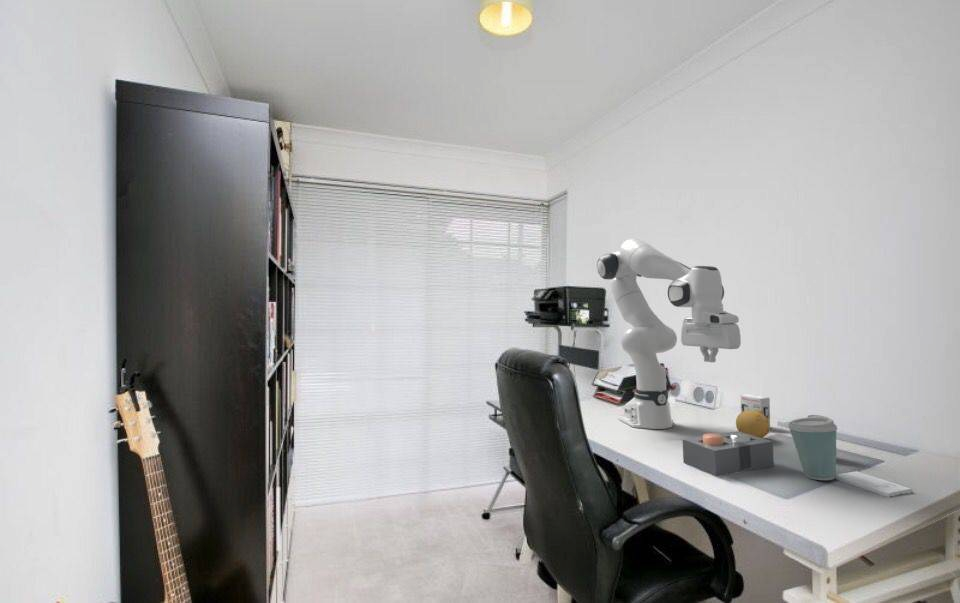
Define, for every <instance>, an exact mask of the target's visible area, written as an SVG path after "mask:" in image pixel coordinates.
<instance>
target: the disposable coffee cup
mask: <svg viewBox="0 0 960 603" xmlns="http://www.w3.org/2000/svg"><path fill="white" fill-rule="evenodd" d="M787 428H788V429H789V431H790V433H791V434H790V435H791V437H792V440H793V443H794V446H795V449H796V452H797V455H798V458H799V459H798V460H799V461H800V464H801V467H802V470H803V473H804V474H805V477H806V478H808V479H812V480H816V481H817V480H818V481H832V480H833V481H834V480H835V475H837V430H838V426H837V425H836V424H835V423H834V420H833V419H831V418H829V417H828V418H824V417H809V418H807V417H802V418H796V419H793V420H791V421H790V422H788V427H787Z"/></svg>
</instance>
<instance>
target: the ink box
mask: <svg viewBox="0 0 960 603" xmlns="http://www.w3.org/2000/svg"><path fill="white" fill-rule="evenodd" d="M770 405H771V400H770V397H767V396H763V395H758V394H752V393H745V394H740V413H742V412H743V411H746V410H755V411H759V412H761V413H762V414H763V415H764V416H765V417H766V418H767V419H768V422H769V430H770V429H771V410H770V409H771V406H770Z"/></svg>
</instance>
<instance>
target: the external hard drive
mask: <svg viewBox="0 0 960 603" xmlns="http://www.w3.org/2000/svg"><path fill="white" fill-rule="evenodd" d="M835 478H836V479H835ZM835 478H834V479H835V480H837V479H838V480H837V481H840V480H841V481H840V482H843V483H845V482H846V484H848V483H849V485H852V486H854V487H857V488H860V489H862V490H866V491H869V492H872V493H874V492H875V494H877V493H878V495H880V494H881V496H883V495H884V496H883V497H886V496H887V497H886V498H891V497H890V496H893V497H896V496H895V495H898V496H900V495H906V494H905V493H908V494H911V493H910V492H913V493H914V489H913V488H910V487H908V486H904V485H901V484H898V483H894V482H892V481H889V480H886V479H883V478H879V477H876V476H873V475H870V474H868V473H867V474H866V473H864V472H860V471H857V470H855V471H848V472H844V473H839V474H837V473H836V475H835ZM899 494H900V495H899Z"/></svg>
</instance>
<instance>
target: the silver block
mask: <svg viewBox="0 0 960 603" xmlns="http://www.w3.org/2000/svg"><path fill="white" fill-rule="evenodd" d="M730 439H732V440H735V441H739V442H745V441H750V435H748V434H744V433H730Z"/></svg>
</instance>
